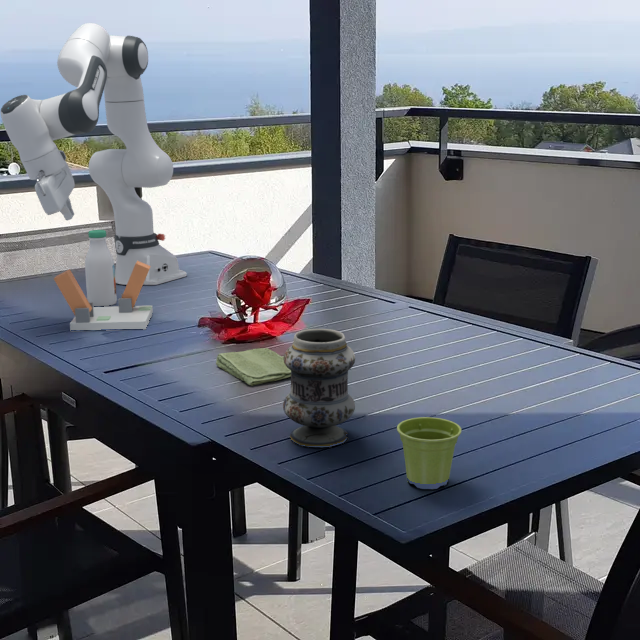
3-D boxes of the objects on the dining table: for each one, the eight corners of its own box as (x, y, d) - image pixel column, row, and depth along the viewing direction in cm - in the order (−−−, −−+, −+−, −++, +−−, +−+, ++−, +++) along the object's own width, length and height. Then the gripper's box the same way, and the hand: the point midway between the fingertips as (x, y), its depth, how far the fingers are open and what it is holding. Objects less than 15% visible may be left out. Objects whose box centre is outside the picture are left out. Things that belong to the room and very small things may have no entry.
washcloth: (249, 390, 178) (249, 374, 177) (212, 366, 193) (211, 352, 192) (307, 379, 184) (307, 363, 183) (267, 357, 199) (266, 343, 198)
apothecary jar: (359, 450, 148) (359, 343, 143) (285, 453, 147) (283, 346, 142) (350, 423, 159) (350, 324, 155) (282, 425, 158) (280, 326, 154)
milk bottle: (113, 307, 242) (108, 233, 236) (84, 307, 242) (78, 233, 237) (120, 300, 249) (115, 228, 244) (92, 300, 249) (86, 228, 244)
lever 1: (80, 316, 224) (56, 275, 221) (93, 310, 224) (70, 268, 221) (77, 321, 220) (53, 279, 217) (90, 314, 220) (66, 272, 216)
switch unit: (82, 314, 234) (80, 294, 233) (152, 313, 235) (151, 292, 234) (70, 331, 219) (68, 309, 217) (145, 329, 220) (144, 307, 219)
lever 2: (120, 301, 233) (137, 260, 230) (133, 306, 233) (150, 265, 231) (118, 305, 229) (135, 263, 226) (131, 310, 229) (149, 269, 227)
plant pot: (396, 468, 141) (397, 415, 138) (457, 470, 140) (459, 417, 138) (395, 495, 132) (396, 439, 129) (461, 497, 131) (463, 441, 129)
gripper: (48, 174, 204) (75, 228, 210) (65, 149, 222) (89, 200, 228) (22, 183, 204) (49, 237, 210) (41, 157, 223) (66, 208, 229)
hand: (70, 217), depth 219 cm, fingers closed
